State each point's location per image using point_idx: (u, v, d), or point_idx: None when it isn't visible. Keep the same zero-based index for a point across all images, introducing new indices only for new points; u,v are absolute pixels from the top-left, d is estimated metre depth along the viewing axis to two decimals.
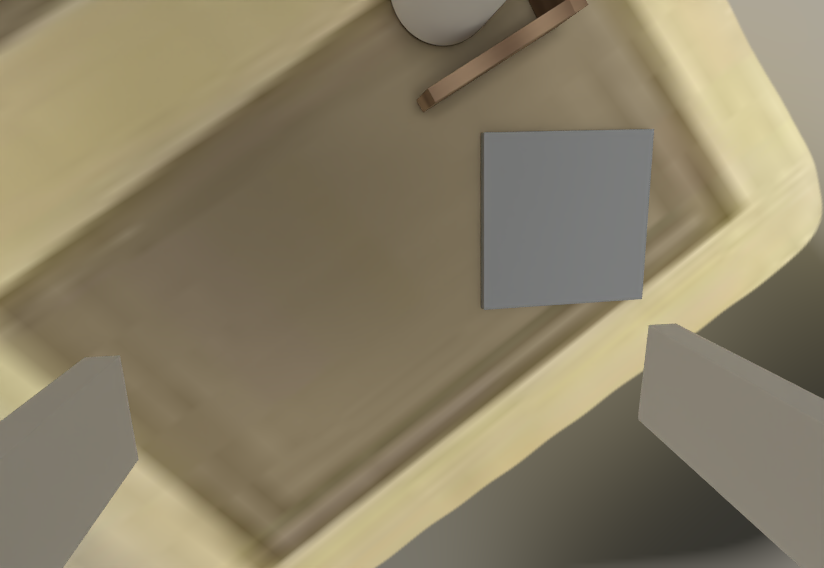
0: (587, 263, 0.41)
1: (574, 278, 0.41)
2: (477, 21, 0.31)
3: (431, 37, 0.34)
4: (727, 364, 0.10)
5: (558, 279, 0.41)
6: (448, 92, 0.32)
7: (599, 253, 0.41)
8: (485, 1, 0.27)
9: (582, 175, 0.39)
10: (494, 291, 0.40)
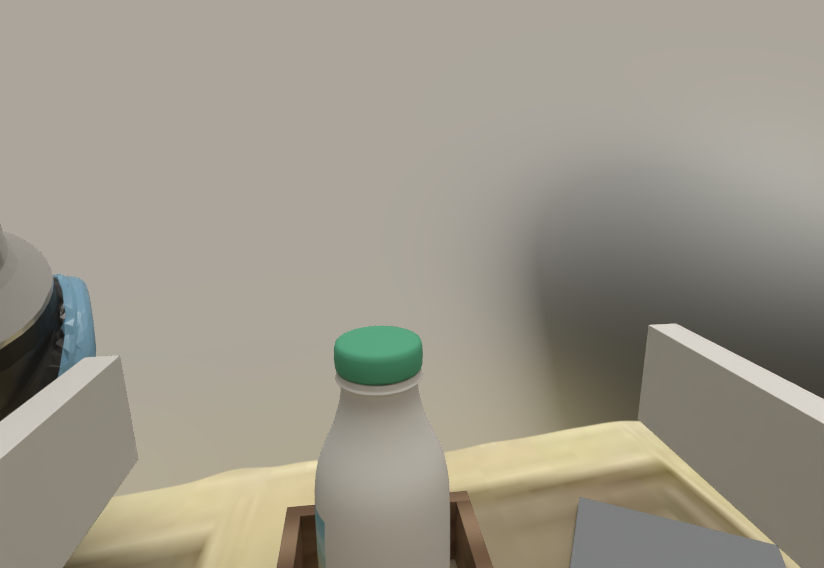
0: None
1: None
2: (449, 567, 0.29)
3: None
4: (727, 364, 0.10)
5: None
6: None
7: None
8: (448, 519, 0.27)
9: (623, 560, 0.35)
10: None
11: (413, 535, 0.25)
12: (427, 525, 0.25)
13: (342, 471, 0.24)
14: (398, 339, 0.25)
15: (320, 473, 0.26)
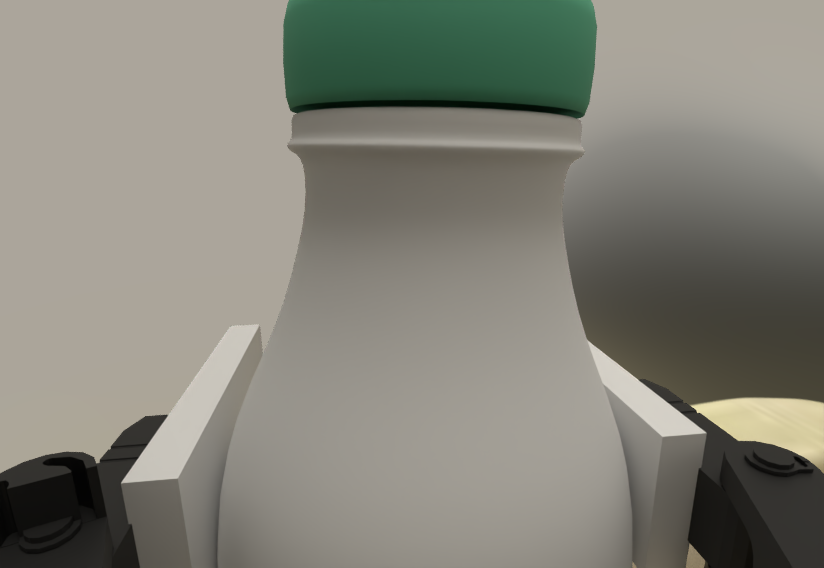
0: None
1: None
2: None
3: None
4: None
5: None
6: None
7: None
8: None
9: None
10: None
11: None
12: None
13: (296, 463, 0.06)
14: None
15: (230, 469, 0.08)
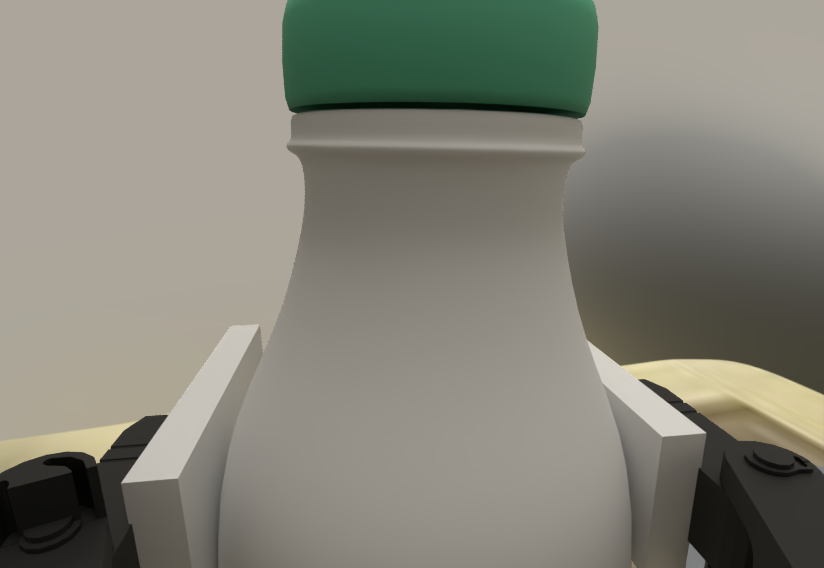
0: None
1: None
2: None
3: None
4: None
5: None
6: None
7: None
8: None
9: None
10: None
11: None
12: None
13: (297, 465, 0.06)
14: None
15: (230, 470, 0.08)
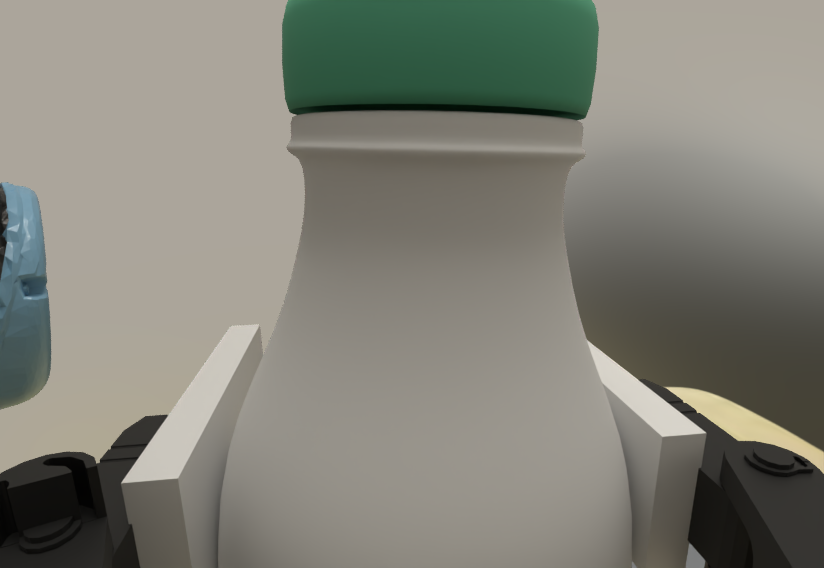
0: None
1: None
2: None
3: None
4: None
5: None
6: None
7: None
8: None
9: None
10: None
11: None
12: None
13: (297, 467, 0.06)
14: None
15: (230, 471, 0.08)
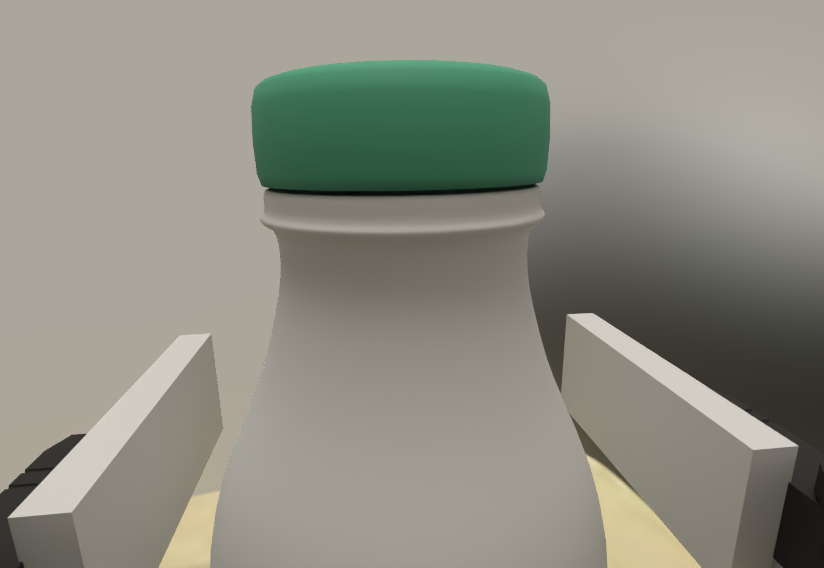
0: None
1: None
2: None
3: None
4: (621, 348, 0.11)
5: None
6: None
7: None
8: None
9: None
10: None
11: None
12: None
13: (278, 529, 0.07)
14: None
15: (218, 527, 0.08)
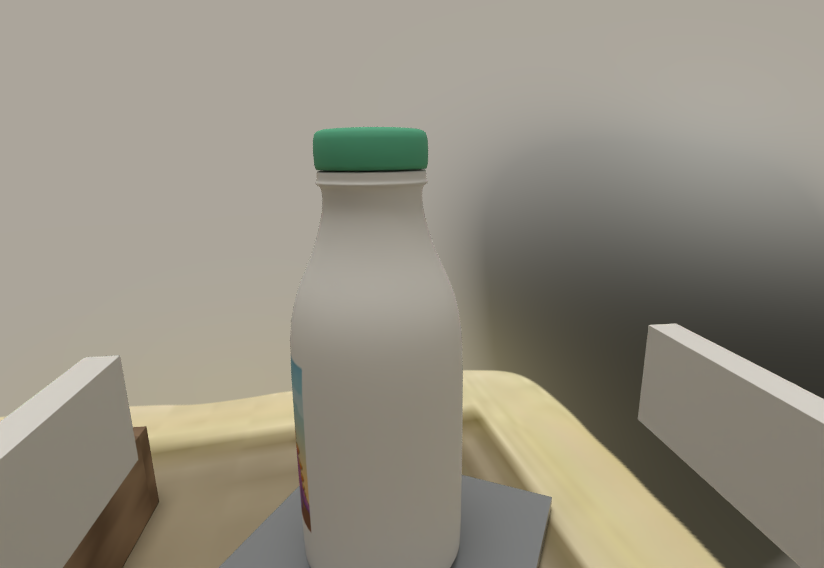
0: (468, 543, 0.25)
1: (487, 567, 0.23)
2: None
3: (445, 546, 0.22)
4: (727, 364, 0.10)
5: None
6: None
7: None
8: (461, 375, 0.21)
9: None
10: None
11: (418, 377, 0.19)
12: (435, 368, 0.19)
13: (324, 294, 0.19)
14: None
15: (296, 308, 0.20)
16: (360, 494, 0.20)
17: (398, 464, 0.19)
